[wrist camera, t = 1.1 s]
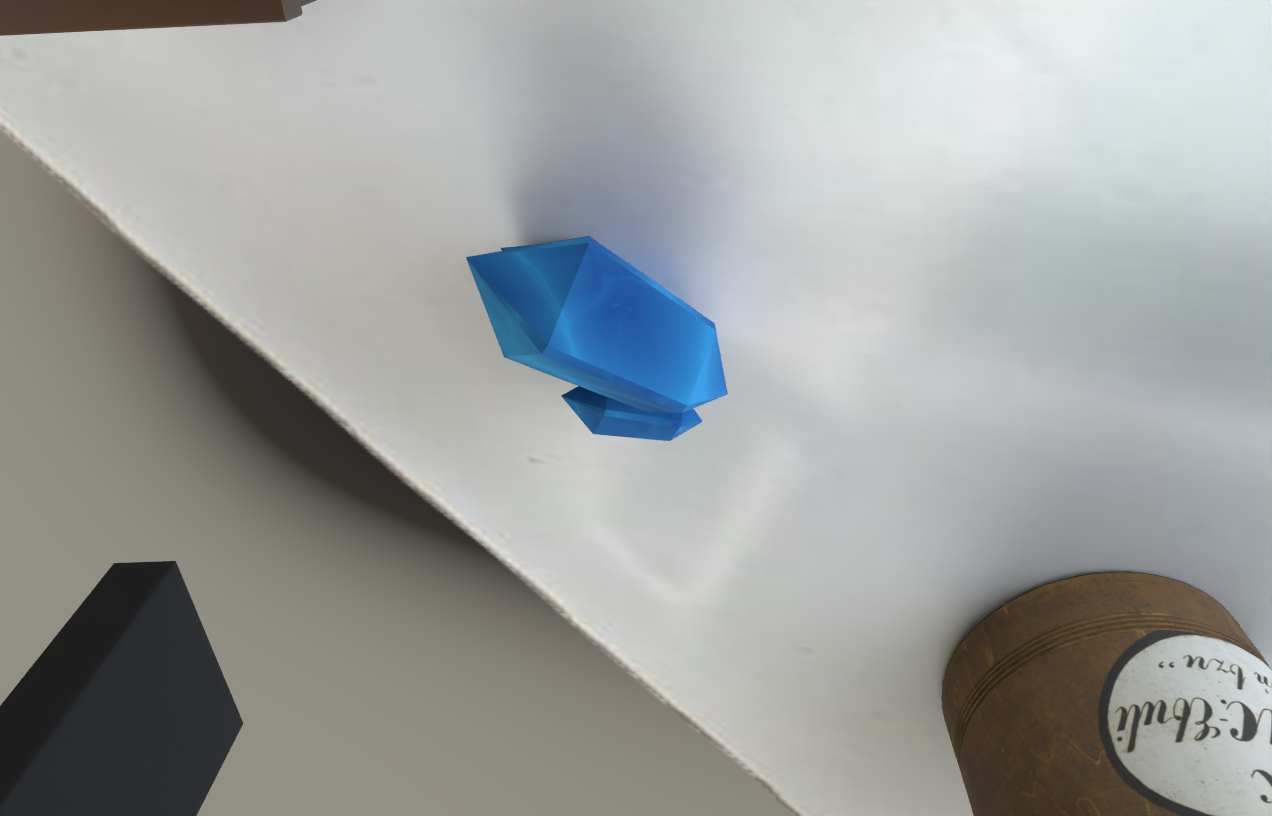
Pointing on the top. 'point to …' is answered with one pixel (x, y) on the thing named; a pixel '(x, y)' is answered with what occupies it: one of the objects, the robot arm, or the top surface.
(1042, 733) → the wooden container
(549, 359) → the crystal
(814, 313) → the top surface
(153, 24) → the desk shelf
